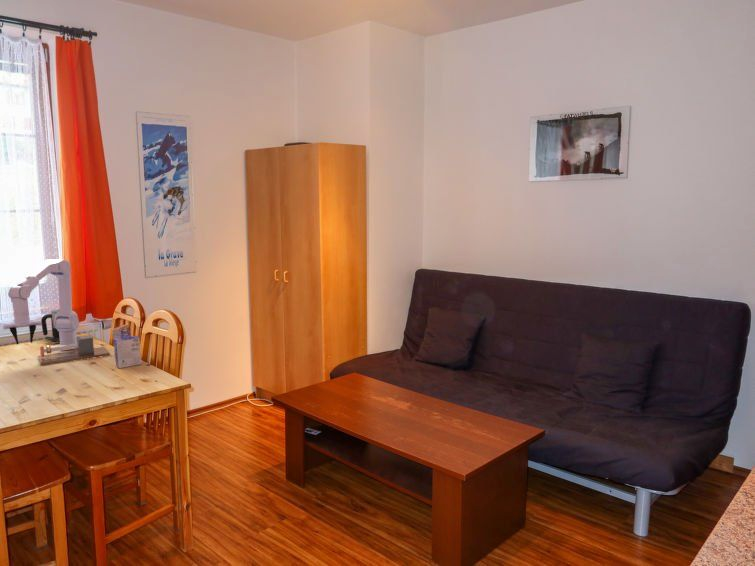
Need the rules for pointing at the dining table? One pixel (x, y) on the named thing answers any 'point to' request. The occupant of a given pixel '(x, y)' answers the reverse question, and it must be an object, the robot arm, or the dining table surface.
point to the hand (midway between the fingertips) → (24, 343)
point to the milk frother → (54, 331)
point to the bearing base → (76, 352)
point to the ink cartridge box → (127, 350)
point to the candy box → (120, 330)
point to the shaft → (56, 348)
